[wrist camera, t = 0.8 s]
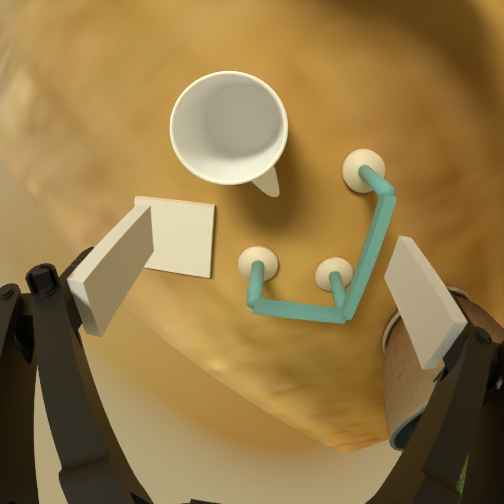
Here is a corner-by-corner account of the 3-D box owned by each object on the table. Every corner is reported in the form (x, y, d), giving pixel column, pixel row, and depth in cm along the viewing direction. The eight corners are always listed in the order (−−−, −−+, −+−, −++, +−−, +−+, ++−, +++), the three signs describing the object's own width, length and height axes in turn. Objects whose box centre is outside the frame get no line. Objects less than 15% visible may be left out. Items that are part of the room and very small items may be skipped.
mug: (243, 194, 33) (230, 238, 24) (188, 105, 28) (148, 112, 19) (311, 161, 30) (328, 193, 21) (258, 65, 25) (250, 50, 16)
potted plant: (392, 260, 36) (494, 575, 1) (493, 272, 35) (598, 471, 1) (348, 361, 46) (371, 583, 12) (442, 358, 46) (491, 532, 12)
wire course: (255, 127, 29) (248, 139, 21) (387, 154, 29) (422, 176, 21) (236, 275, 38) (227, 322, 31) (345, 289, 38) (358, 336, 31)
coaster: (137, 195, 34) (134, 198, 33) (215, 204, 34) (213, 207, 33) (141, 263, 39) (139, 266, 38) (210, 274, 39) (209, 277, 38)
